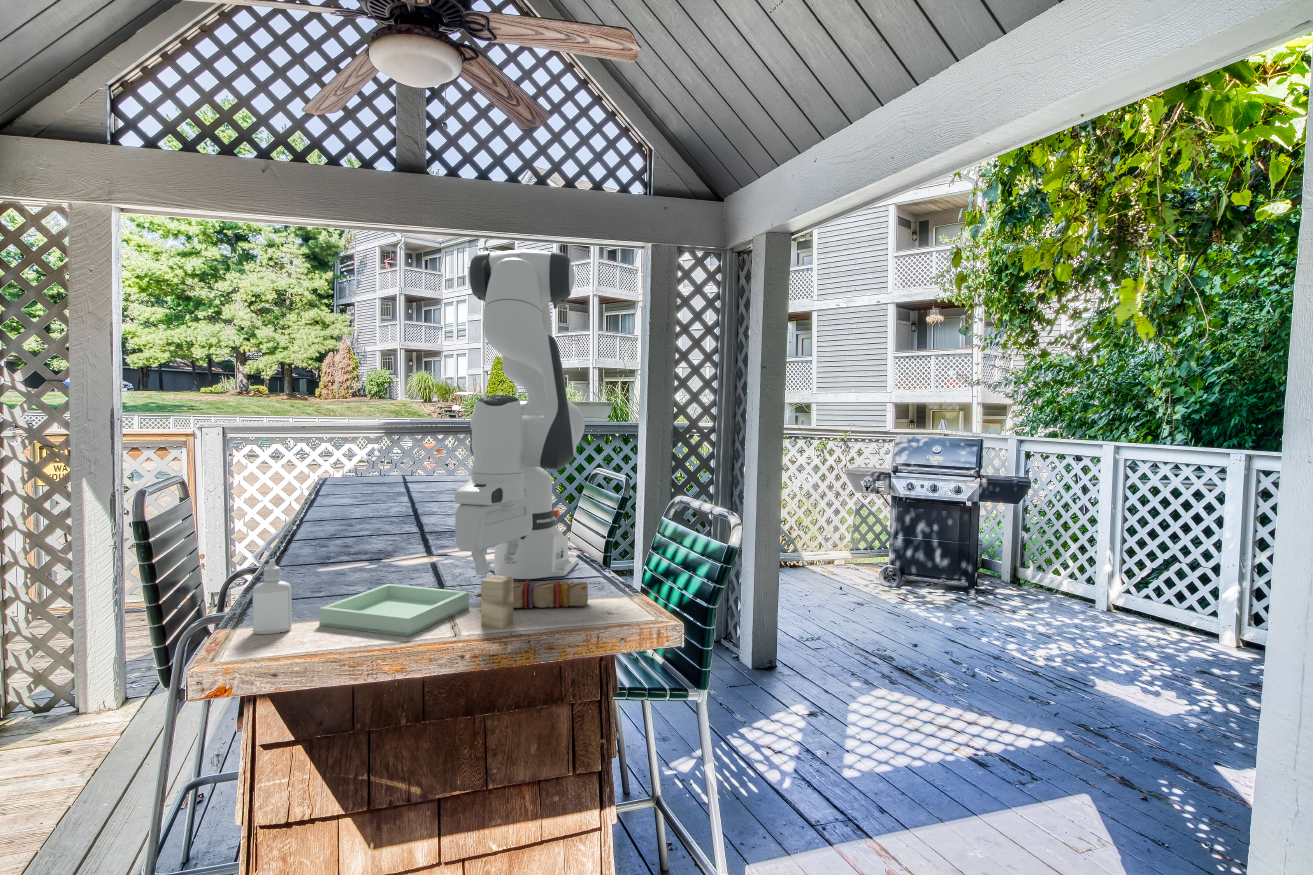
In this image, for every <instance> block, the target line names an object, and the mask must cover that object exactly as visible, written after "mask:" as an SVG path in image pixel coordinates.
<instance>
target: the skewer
mask: <svg viewBox="0 0 1313 875" xmlns="http://www.w3.org/2000/svg"><path fill="white" fill-rule="evenodd" d="M529 580H530V579H525V581H524V582H523V581H521V582H516V581H515V582H514V581H513V609H515V608H517V609H518V608H524V609H528V608H529V609H533V607H537V608H543V609H544V608H559V607H560V606H561V607H565V608H568V606H569V607H583V606H585V607H586V606H588V600H589V588H588V587H589V586H588V582H586V581H585V582H583V581H582V582H581V581H580V582H578V581H577V582H573V581H570V582H569V581H566V580H565V581H556V582H554V581H552V580H551V581H547V580H546V581H542V582H541V581H540V582H535V583H534V581H529ZM476 597H477V598H481V593H477V594H476Z"/></svg>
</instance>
